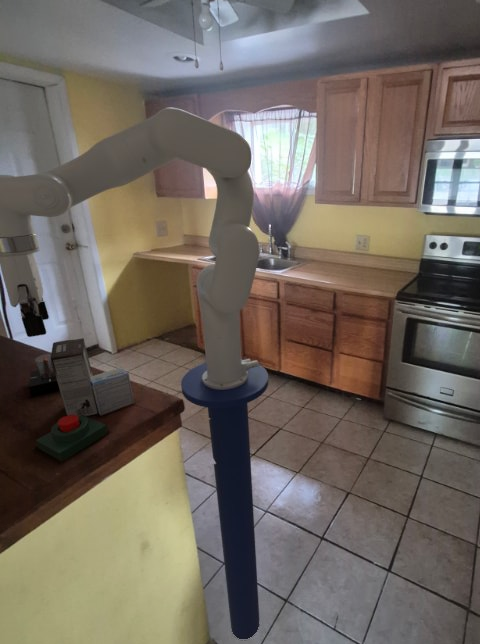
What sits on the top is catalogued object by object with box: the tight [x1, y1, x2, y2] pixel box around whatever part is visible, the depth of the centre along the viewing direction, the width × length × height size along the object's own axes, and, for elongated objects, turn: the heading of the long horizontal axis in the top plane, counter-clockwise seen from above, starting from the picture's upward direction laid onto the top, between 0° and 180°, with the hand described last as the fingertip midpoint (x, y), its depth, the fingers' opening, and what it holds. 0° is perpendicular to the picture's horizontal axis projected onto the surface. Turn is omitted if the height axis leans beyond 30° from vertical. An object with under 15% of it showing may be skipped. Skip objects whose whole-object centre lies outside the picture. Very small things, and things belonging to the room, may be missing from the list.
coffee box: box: [50, 337, 99, 417], centre depth 86 cm, size 9×6×16 cm
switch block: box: [35, 415, 108, 463], centre depth 77 cm, size 10×8×4 cm
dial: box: [34, 353, 56, 379], centre depth 97 cm, size 4×4×5 cm
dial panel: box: [28, 369, 60, 398], centre depth 98 cm, size 9×9×3 cm
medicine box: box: [91, 366, 135, 416], centre depth 88 cm, size 8×4×9 cm, turn 132°
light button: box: [57, 415, 80, 432], centre depth 76 cm, size 4×4×2 cm
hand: (39, 327), depth 78 cm, fingers open, 9 cm apart
